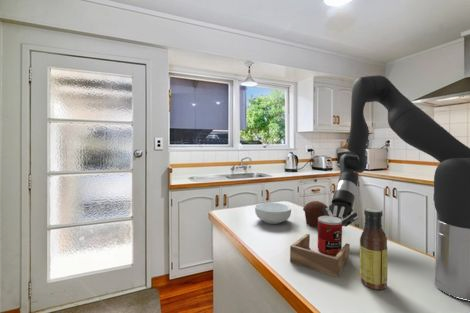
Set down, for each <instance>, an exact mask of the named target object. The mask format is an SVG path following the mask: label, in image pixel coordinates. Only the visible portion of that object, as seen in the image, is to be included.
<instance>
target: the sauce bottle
mask: <svg viewBox="0 0 470 313" xmlns="http://www.w3.org/2000/svg"><path fill="white" fill-rule="evenodd" d="M363 215H364V226H363V230H362V232H361V235H360V237H359V276H360V281H361V283H362V284H363V285H364V286H366V287H367V288H369V289H371V290H377V291H378V290H379V291H381V290H385V289H386V288H387V286H388V238H387V236H386V233H385V231H384V229H383V228H382V227H383V225H382V217H383V215H384V214H383V210H382V209H380V208H374V207H366V208H364V214H363Z"/></svg>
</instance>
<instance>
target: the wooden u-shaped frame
mask: <svg viewBox="0 0 470 313" xmlns="http://www.w3.org/2000/svg"><path fill="white" fill-rule="evenodd" d="M310 237H311V236H310V233H306V234H304V235H303V236H302V237H300V238H299V239H297V240H296V241H295V242H293V243H292V244H291V245H290V246H289V256H290V257H289V262H290V263H293V264H295V265H299V266H302V267H305V268H308V269H311V270H314V271H317V272H319V273H322V274H326V275H329V276H331V277H334V276H335V278H338V277H337V276H339V275H340V274H341V272H342V271H343V270H344V268H345V267H346V265H347V263H348V262H349V260H350V246H351V244H350V243H345V244H344V245H343V247H342V249H341V250H340V251H339V253H338V254H337V255H334V256H333V255H326V254H324V253H322V252H318V251H315V250H311V249H310V242H311V241H310ZM341 270H342V271H341ZM339 273H340V274H339Z"/></svg>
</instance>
